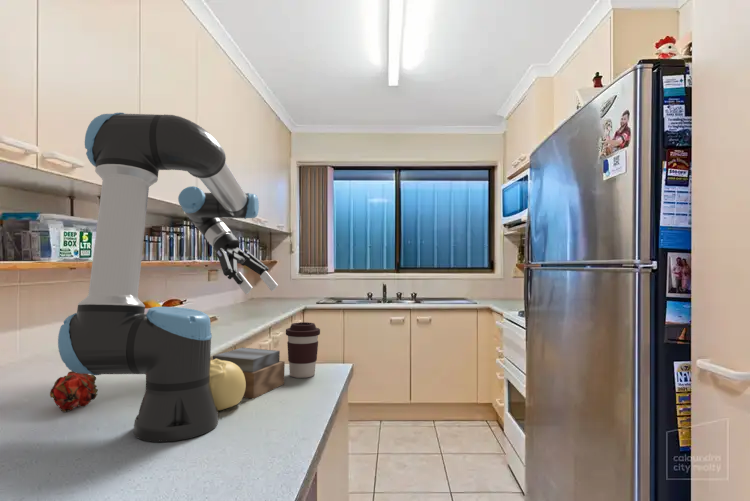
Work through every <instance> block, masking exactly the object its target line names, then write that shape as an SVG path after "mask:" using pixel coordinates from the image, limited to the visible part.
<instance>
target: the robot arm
mask: <svg viewBox="0 0 750 501" xmlns="http://www.w3.org/2000/svg"><path fill="white" fill-rule="evenodd" d="M84 148H85V150H86V153H85V155H86V157H87V159H88V161H89V162H90V164H91V165H92V166H94V167H95V168H94V169H95V170H94V171H95V173H96V174H97V175H98V176H99V177H100V179H101V180H102V183H101V191H100V199H99V207H98V214H97V223H96V230H95V239H94V247H93V255H92V263H91V270H90V281H89V287H88V294H87V296H86V297H85V298H83V299H82V300H81V301H79V302H78V303H77V309H76V310H77V311H76V312H75V313H73V314H70V315H68V316H66V318H65V319H64V320H63V324H62V325H61V326H60V327H59V328H60V329H59V331H58V336H57V348H58V352H59V356H60V359H61V361H62V363H64V365H65V367H66V368H67V369H68V370H69V371H70V372H71V371H73V372H75V373H80V374H89V375H94V376H102V375H145V391H144V395H143V398H142V400H141V403H140V406H139V409H138V410H139V411H138V414H137V415H136V417H135V419H134V423H133V435H134V436H135V437H136V438H138V439H139V440H142V441H145V442H154V443H155V442H156V443H158V442H159V443H161V442H162V443H166V442H176V441H183V440H187V439H191V438H192V439H193V438H196V437H199V436H202V435H204V434H206V433H209V432H210V431H212V430H214V429H215V428H216V427H217V426H218V423H219V411H218V410H217V407H216V406H215V403H214V398H213V395H212V391H211V388H210V360H211V351H212V349H211V348H212V347H211V346H212V345H211V344H212V337H213V335H212V330H211V325H212V324H211V323H212V322H211V319H210V317H209V315H208V314H207V313H205V312H203V311H201V310H198V309H192V308H187V307H178V306H177V307H176V306H154V307H150V308H149V309H148V310H147V312H146V313H145V311H146V310H145V309H146V305H145V304H144V303H143V302H142V301H141V300H140V298H139V287H140V277H141V269H142V260H143V251H144V250H143V248H144V240H145V230H146V218H147V210H148V199H149V192H150V191H149V190H150V187H151V186H153V185H155V183H157V182H158V178H159V172H160V171H183V172H188V173H189V174H190V175H191V176H193V177H195V178H198V179H199V180H200V182H202V183H203V185H204V186H205V187H206V188H207V189H208V190H209V192H204V191H203V190H202V189H201V188H199V187H198V186H194V185H193V186H187V187H185V188H183V189H182V190H181V191H180V192H179V195H178V197H177V199H178V203H179V206H180V207H181V209H182V211H183V212H184V213H185V214H186V215H187V217H188V218H189V220H190V221H191V223H192V224H193V225H194V226H195V227H196V228H197V229H198V230H199V232H200V233H201V235H203V237H204V238H205V239H206V241H207V242H208V245H210V246H211V247H212V248H213V249H214V251H215V252H216V253H215V255H216V257H217V259H218V261H219V264H220V267H221V270H222V272H223V275H224V276H225V277H227V279H228V280H232V279H233V280H234V281H235V282H236V284H237V285H238V286H239V287H240V289H241V290H242V291H243V293H244V294H245V295H248V294H249V293H250V292H251V291H252V290H253V288H254V287H253V286H252V284H251V283H250V282H249V281H248V279H247V278H246V277H245V275H243V274H242V272H241V271H238V265H241V266H245V267H247V268H249V269H250V270H251V271H253V272H255V273H256V274H258V275H259V278H260V279H261V280H262V281H263V283H264V284H265V285H266V286H267V287H268V288H269V290H270V291H271V292H274V291H275V290H276V289H277V288H278V286H279V284H278V283H277V282H276V280H274V278H273V277H272V276H271V275H270V273H269V272H268V271H269V270H270V269H269V266H267V265H266V264H265V263H263V262H262V261H260V260H259V258H257V257H256V256H254V254H252V253H251V252H250V251H249V250H248V249H247V248H246V249H244V251H243V250H242V249H241V248H240V243H241V242H240V240H239V239H238V238H237V237H236V235H235V234H234V233H233V232H232V230H231V228H229V227H228V226H227V225H226V223H224V221H223V220H222V219H243V220H246V219H255V218H257V217H258V215H259V209H260V207H259V206H260V205H259V204H260V203H259V202H260V201H259V198H258V195H257V194H256V193H250V192H247V193H246V192H245V191H244V189H243V188H242V185H241V184H240V183H239V181H238V180H237V178H236V176H235V174H234V173H233V171H232V170H231V168H230V165H228V163H227V162H226V161H227V156H226V155H227V154H226V153H225V150H224V148H223V147H222V145H221V143H219V141H218V140H217V139H216V138H215V137H214V136H213V135H212V134H211V133H210V132H208V131H207V130H206V129H205V128H203V127H202V126H200V125H198V124H197V123H195V122H193V121H191V120H189V119H187V118H185V117H182V116H179V115H174V114H155V113H153V114H152V113H150V114H149V113H147V114H146V113H144V114H143V113H126V112H114V113H103V114H99V115H98V116H96V117H94V118H93V119H92V120H91V121H90V122H89V125H88V126H87V129H86V132H85V136H84Z"/></svg>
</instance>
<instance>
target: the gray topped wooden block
mask: <svg viewBox="0 0 750 501" xmlns="http://www.w3.org/2000/svg"><path fill="white" fill-rule="evenodd" d="M280 358H281V356H280V350H276V349H261V348H252V347H251V348H250V347H240V348H235V349H232V350H229V351H225V352H222V353H218V354H215V355H212V360H214V359H219V360H224V361H230V362H232V363H235V364H236V365H238V366H239V367H240V369H241V370H242V372H243V374H244V376H245V381H246V388H245V393H244V396H243V398H246V399H256V398H258V397H261V395H264V394H266V393H269V392H271V391H272V390H275V389H277V388H278V387H281V386H284V384H285V370H286V369H285V367H286V366H285V365H286V364H285V362H286V361H284V360H283V361H282V360H280Z"/></svg>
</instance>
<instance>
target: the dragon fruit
mask: <svg viewBox="0 0 750 501" xmlns="http://www.w3.org/2000/svg"><path fill="white" fill-rule="evenodd" d="M96 380H97V377H96V375H92V374H80V373H75V372H73V371H71V370H70V371H68V373H67V375H63V376H60V377H58V378H57V379H56V380H55V381H54V383H53V384H54V385H53V386H52V388H51V389H50V392H49V396H50V398H52V399H53V401H54V403H55V405H56V406H57V407H59V409H60V411H61V412H63V413H66V412H67V413H68V412H70V411H72V410H73V409H74V408H79V407H82V408H84V407H86V406H88V405H89V403H91V402H92V401H93V400H95V398H96V397H97V396H98V391H99V389H97V384H96Z"/></svg>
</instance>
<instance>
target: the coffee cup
mask: <svg viewBox="0 0 750 501" xmlns="http://www.w3.org/2000/svg"><path fill="white" fill-rule="evenodd" d="M285 335H286V336H287V342H286V343H287V358H288V359H287V360H288V361H287V362H288V368H289V376H290V377H292V378H295V379H296V378H297V379H306V378H311V377H314V375H316V373H315V372H316V364H317V363H316V362H317V360H318V349H319V340H318V338H319V335H321V328H319V327H316V324H315V322H308V321H306V322H305V321H304V322H303V321H302V322H300V321H299V322H293V323H291V324H290V326H289V328H286V329H285Z"/></svg>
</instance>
